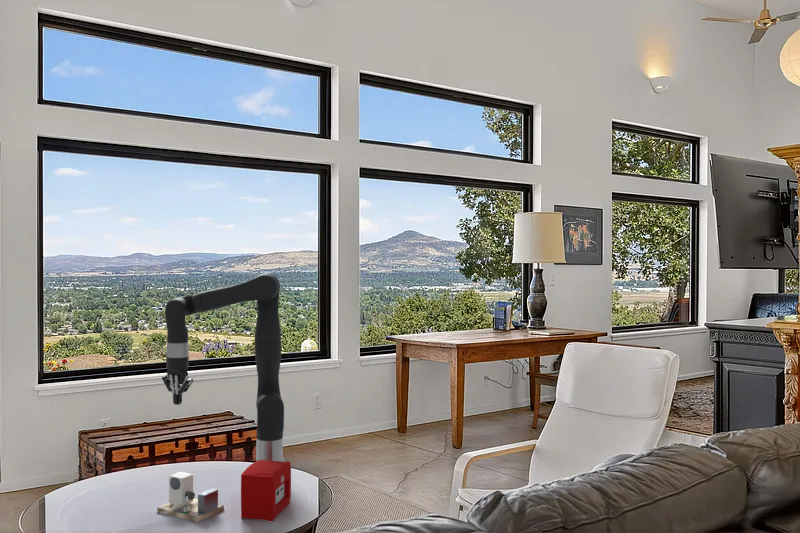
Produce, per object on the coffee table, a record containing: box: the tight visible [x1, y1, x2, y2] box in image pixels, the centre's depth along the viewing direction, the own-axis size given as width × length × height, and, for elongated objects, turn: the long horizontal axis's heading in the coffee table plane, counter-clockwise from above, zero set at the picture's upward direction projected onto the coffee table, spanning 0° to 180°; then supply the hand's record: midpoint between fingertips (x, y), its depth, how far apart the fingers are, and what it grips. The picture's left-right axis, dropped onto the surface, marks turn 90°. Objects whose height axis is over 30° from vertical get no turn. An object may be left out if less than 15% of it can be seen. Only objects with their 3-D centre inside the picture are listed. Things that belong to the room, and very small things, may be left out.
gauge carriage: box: [168, 471, 196, 510], centre depth 239 cm, size 8×8×9 cm
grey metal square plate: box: [197, 487, 219, 514], centre depth 236 cm, size 2×6×6 cm, turn 153°
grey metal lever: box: [184, 496, 190, 512], centre depth 234 cm, size 1×2×5 cm, turn 152°
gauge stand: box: [156, 497, 225, 523], centre depth 240 cm, size 17×12×2 cm
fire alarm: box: [240, 460, 292, 522], centre depth 240 cm, size 16×11×15 cm
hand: (177, 404), depth 262 cm, fingers closed
